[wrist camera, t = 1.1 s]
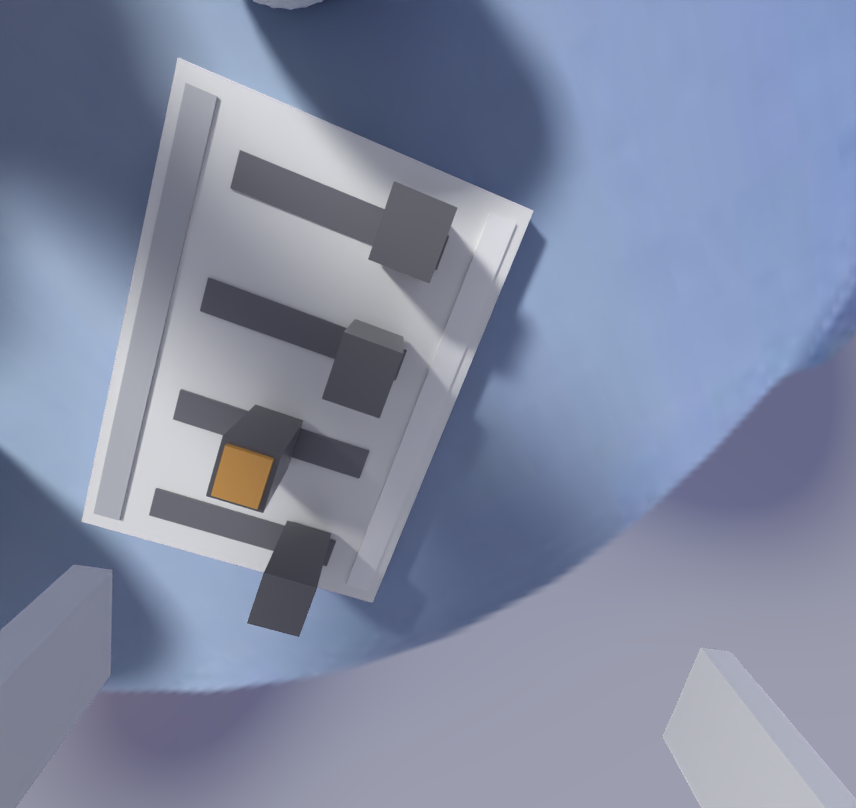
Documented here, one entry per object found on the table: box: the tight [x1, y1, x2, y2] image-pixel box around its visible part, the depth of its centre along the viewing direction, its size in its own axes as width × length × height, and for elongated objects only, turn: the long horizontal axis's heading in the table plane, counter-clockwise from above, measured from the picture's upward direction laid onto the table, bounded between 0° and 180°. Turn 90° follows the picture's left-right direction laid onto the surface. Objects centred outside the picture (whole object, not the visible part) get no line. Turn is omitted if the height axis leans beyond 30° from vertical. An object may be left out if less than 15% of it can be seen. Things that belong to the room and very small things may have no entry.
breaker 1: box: [206, 404, 303, 513], centre depth 27 cm, size 3×4×6 cm
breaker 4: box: [368, 181, 457, 284], centre depth 24 cm, size 3×4×6 cm
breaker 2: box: [247, 520, 331, 637], centre depth 29 cm, size 3×4×6 cm
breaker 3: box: [322, 319, 404, 419], centre depth 26 cm, size 3×4×6 cm
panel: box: [82, 57, 533, 603], centre depth 30 cm, size 20×28×2 cm
